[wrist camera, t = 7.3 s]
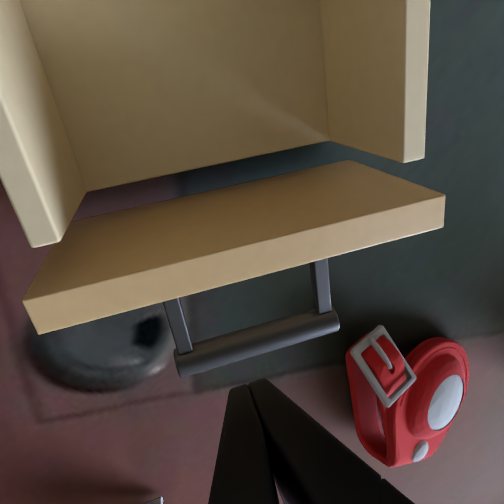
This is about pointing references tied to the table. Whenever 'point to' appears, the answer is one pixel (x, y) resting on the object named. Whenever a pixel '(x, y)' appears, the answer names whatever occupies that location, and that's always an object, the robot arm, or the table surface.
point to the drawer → (207, 149)
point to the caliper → (156, 501)
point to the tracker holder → (405, 395)
